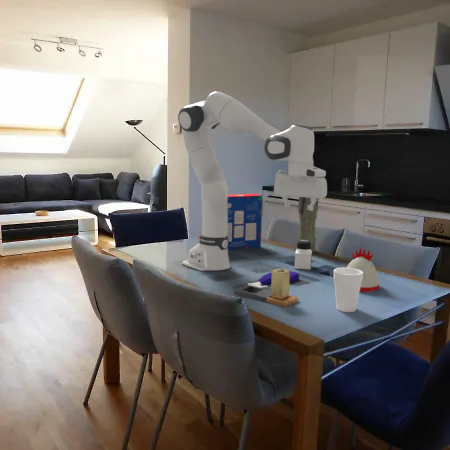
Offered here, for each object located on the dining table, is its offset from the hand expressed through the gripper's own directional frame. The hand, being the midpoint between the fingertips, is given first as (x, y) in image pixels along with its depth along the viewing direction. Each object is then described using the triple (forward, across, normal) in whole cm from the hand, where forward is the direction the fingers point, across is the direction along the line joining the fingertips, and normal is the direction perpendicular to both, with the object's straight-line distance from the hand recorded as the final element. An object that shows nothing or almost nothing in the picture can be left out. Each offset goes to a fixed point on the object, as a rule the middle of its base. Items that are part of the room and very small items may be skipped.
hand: (298, 209), depth 168 cm
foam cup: (+31, +23, -6) cm, 39 cm away
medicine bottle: (+31, -15, +32) cm, 47 cm away
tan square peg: (+31, +2, -14) cm, 34 cm away
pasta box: (+31, -62, +42) cm, 81 cm away
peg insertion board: (+31, -4, -14) cm, 34 cm away
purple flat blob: (+32, -12, +3) cm, 34 cm away
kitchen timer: (+31, +16, +22) cm, 42 cm away
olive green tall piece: (+31, -30, +62) cm, 76 cm away
